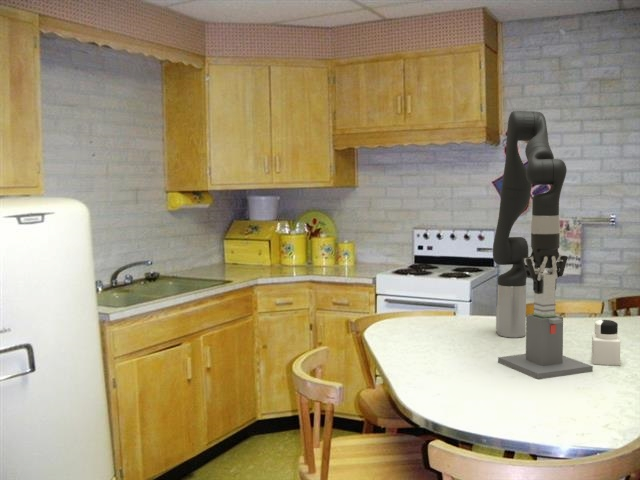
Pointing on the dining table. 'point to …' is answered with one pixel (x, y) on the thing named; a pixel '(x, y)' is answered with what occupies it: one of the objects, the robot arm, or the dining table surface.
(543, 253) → the robot arm
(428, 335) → the dining table surface
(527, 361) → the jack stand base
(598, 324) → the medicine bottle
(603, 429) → the dining table surface
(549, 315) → the steel column
